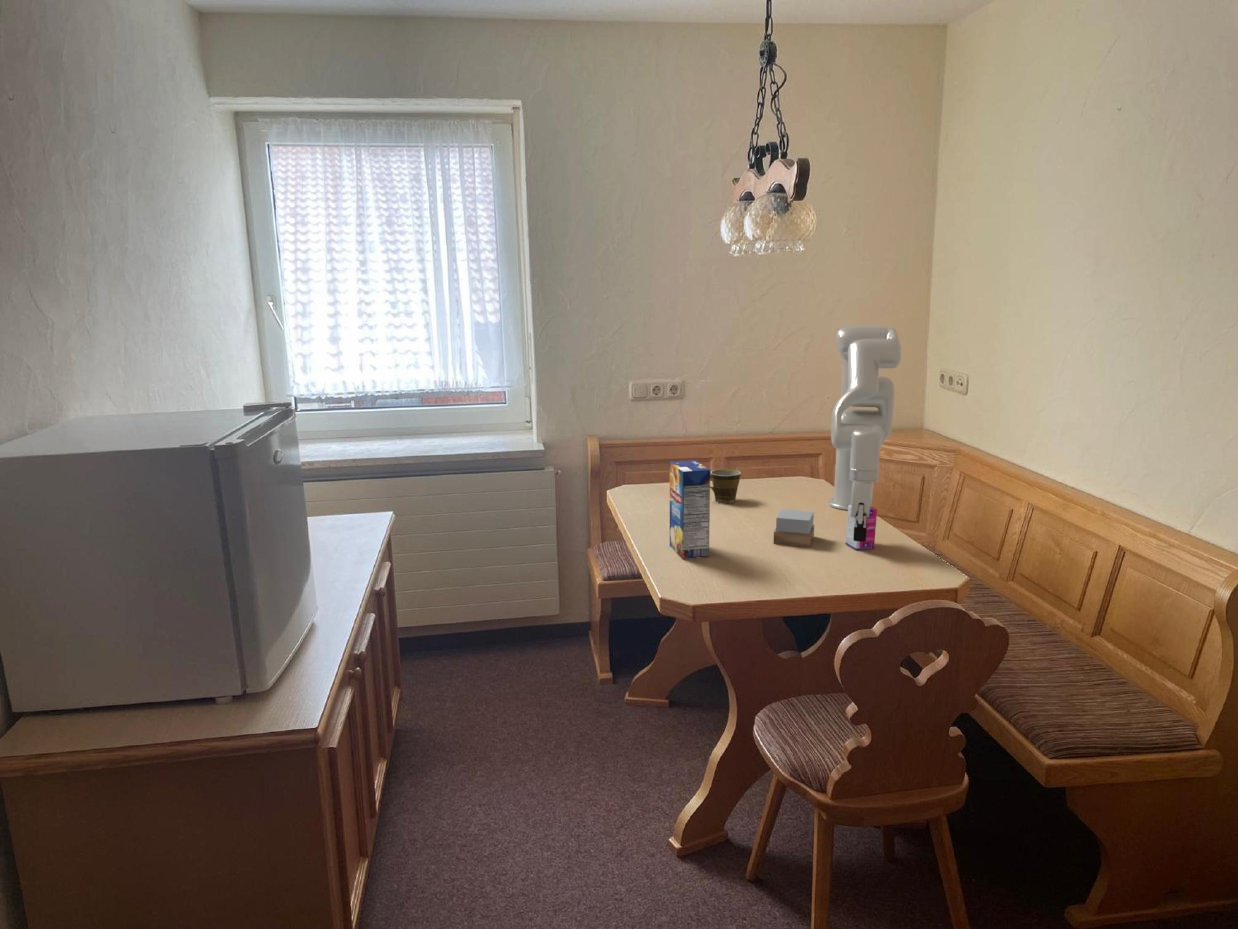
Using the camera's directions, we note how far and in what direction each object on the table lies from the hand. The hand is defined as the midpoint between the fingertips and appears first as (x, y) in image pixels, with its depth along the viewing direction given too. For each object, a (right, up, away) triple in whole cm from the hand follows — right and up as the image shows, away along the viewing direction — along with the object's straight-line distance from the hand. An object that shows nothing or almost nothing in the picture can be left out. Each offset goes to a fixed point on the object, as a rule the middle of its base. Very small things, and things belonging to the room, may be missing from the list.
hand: (860, 536), depth 220 cm
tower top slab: (-17, +2, +6) cm, 18 cm away
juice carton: (-47, -4, -1) cm, 48 cm away
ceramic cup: (-32, +7, +48) cm, 59 cm away
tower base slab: (-17, -2, +7) cm, 18 cm away
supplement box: (0, -3, +1) cm, 3 cm away
